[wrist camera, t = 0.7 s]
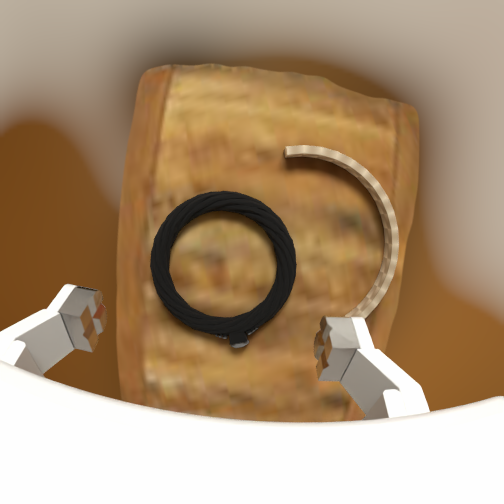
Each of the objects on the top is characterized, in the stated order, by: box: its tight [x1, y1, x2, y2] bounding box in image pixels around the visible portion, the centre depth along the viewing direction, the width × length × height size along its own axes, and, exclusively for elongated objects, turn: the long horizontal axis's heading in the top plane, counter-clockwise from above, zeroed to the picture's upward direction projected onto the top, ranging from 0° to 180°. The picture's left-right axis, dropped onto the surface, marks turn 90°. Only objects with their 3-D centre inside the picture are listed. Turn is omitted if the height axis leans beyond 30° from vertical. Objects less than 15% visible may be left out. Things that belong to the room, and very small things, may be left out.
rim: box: [284, 145, 399, 319], centre depth 56 cm, size 37×17×4 cm, turn 17°
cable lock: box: [150, 191, 297, 348], centre depth 57 cm, size 28×4×30 cm
